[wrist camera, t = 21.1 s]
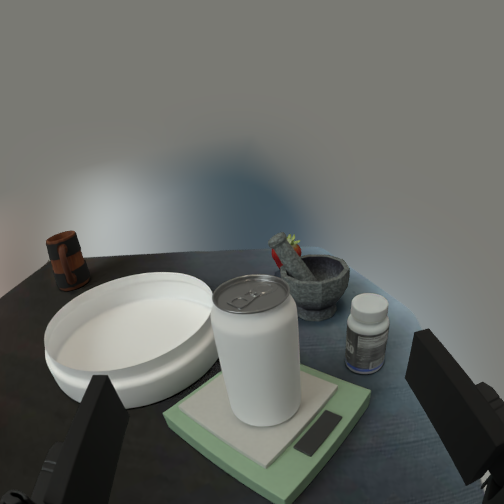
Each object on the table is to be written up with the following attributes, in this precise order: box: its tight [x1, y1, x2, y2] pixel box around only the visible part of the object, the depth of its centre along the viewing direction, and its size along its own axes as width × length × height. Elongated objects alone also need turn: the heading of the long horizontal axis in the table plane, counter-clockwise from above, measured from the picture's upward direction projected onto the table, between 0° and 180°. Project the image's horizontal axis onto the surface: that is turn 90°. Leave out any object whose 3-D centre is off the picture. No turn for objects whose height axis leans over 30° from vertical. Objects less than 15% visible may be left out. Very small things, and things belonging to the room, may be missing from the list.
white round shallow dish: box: [44, 272, 219, 409], centre depth 42 cm, size 27×27×6 cm
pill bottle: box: [345, 293, 389, 374], centre depth 33 cm, size 5×5×8 cm
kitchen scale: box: [163, 364, 371, 504], centre depth 28 cm, size 15×14×3 cm
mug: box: [46, 231, 90, 291], centre depth 63 cm, size 9×12×12 cm
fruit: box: [272, 234, 301, 269], centre depth 57 cm, size 5×5×8 cm
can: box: [211, 274, 301, 427], centre depth 25 cm, size 6×6×12 cm
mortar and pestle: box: [268, 232, 350, 321], centre depth 45 cm, size 11×9×12 cm
